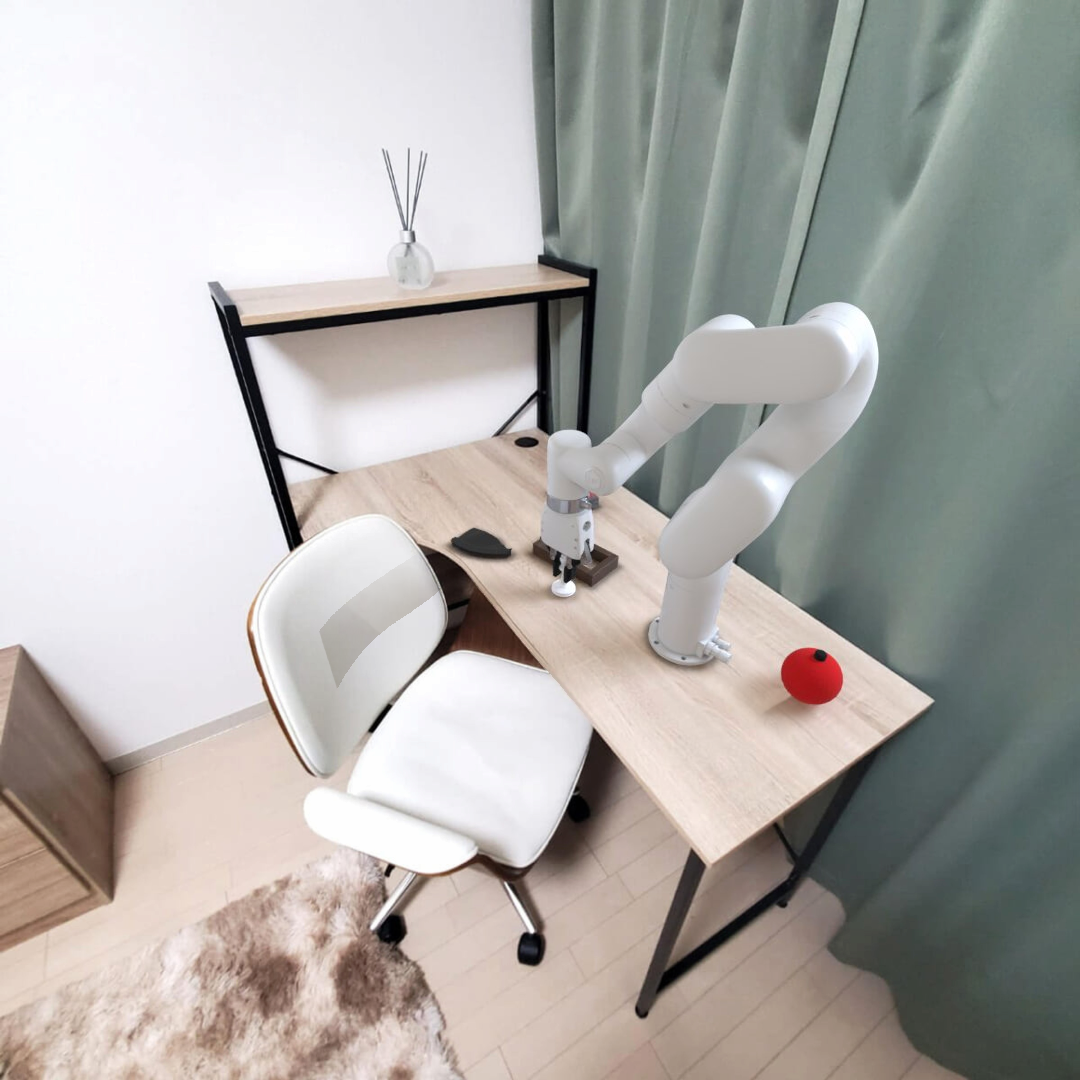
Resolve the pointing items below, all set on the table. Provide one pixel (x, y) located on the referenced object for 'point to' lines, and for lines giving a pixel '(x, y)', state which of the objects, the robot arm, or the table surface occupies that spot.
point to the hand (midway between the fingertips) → (564, 576)
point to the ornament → (811, 676)
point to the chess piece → (559, 585)
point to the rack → (583, 573)
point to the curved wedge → (480, 544)
